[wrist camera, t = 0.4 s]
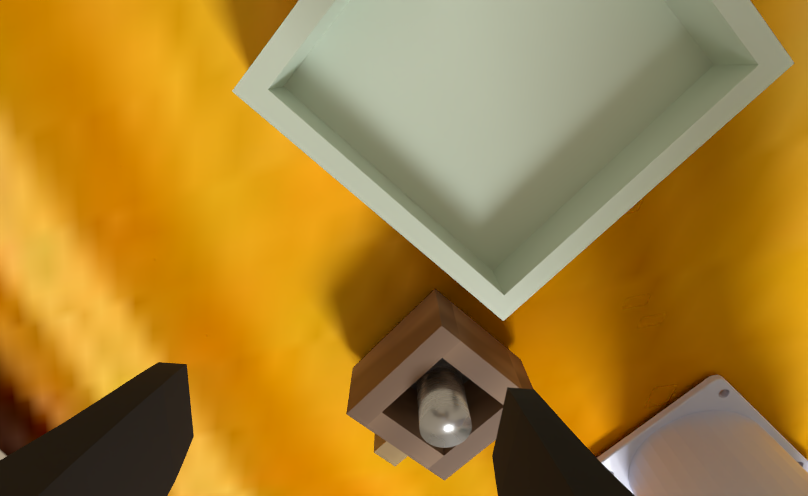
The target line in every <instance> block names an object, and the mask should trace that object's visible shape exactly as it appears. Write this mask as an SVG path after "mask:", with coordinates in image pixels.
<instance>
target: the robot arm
mask: <svg viewBox="0 0 808 496" xmlns="http://www.w3.org/2000/svg"><path fill="white" fill-rule="evenodd" d="M721 390H722V391H721ZM720 391H721V392H720ZM192 439H193V425H192V415H191V405H190V394H189V384H188V373H187V364H175V363H161V362H159V363H157V364H155V365H153V366H152V367H150V368H148V369H147V370H145V371H144V372H142V373H140V374H139V375H137V376H136V377H134V378H133V379H131V380H130V381H128V382H126V383H125V384H123V385H122V386H120V387H119V388H117V389H116V390H114V391H113V392H111V393H110V394H108V395H106V396H105V397H103V398H102V399H100V400H99V401H97V402H96V403H94V404H92V405H91V406H89V407H88V408H86V409H85V410H83V411H81V412H80V413H78V414H77V415H75V416H74V417H72V418H71V419H69V420H67V421H66V422H64V423H63V424H61V425H59V426H58V427H56V428H54V429H53V430H51V431H49V432H47V433H46V434H44V435H42V436H41V437H39V438H37V439H36V440H34V441H32V442H31V443H29V444H27V445H26V446H24V447H22V448H20V449H19V450H17V451H15V452H14V453H12V454H10V455H9V456H7V457H5V458H4V459H2V460H0V496H167V495H168V493H169V491H170V490H171V488H172V486H173V484H174V482H175V480H176V478H177V475H178V473H179V471H180V468H181V466H182V464H183V461H184V459H185V456H186V454H187V451H188V449H189V446H190V444H191V441H192ZM492 457H493V464H494V471H495V479H496V485H497V492H498V496H808V460H807V459H806V458H805V457H804V456H803V455H801V454H800V453H799V452H798V451H797V450H796V449H795V448H794V447H793V446H792V445H791V444H790V443H789V442H788V441H787V440H786V439H785V438H784V437H783V436H782V435H781V434H780V433H779V432H778V431H777V430H776V429H775V428H774V427H773V426H772V425H771V424H770V423H769V422H768V421H767V420H766V419H765V418H764V417H763V416H762V415H761V414H760V413H759V412H758V411H757V410H756V409H755V408H754V407H753V406H752V405H751V404H750V403H749V402H748V401H747V400H746V399H745V398H744V397H743V396H742V395H741V394H739V393H738V392H737V391H736V390H735V389H734V388H733V387H732V386H731V385H730V384H729V383H728V382H727V381H726V380H725V379H724V378H723V377H722V376H720V375H712V376H710V377H708V378H706V379H705V380H704V381H702V382H701V383H700V384H698V385H697V386H695V387H694V388H693V389H691V390H690V391H688V392H687V393H686V394H684V395H683V396H682V397H680V398H679V399H677V400H676V401H675V402H673V403H672V404H670V405H669V406H668V407H666V408H665V409H664V410H662V411H661V412H659V413H658V414H657V415H655V416H654V417H652V418H651V419H650V420H648V421H647V422H646V423H644V424H643V425H641V426H640V427H639V428H637V429H636V430H635V431H633V432H632V433H630V434H629V435H628V436H626V437H625V438H623V439H622V440H621V441H619V442H618V443H617V444H615V445H614V446H612V447H611V448H610V449H608V450H607V451H605V452H604V453H603V454H601V455H600V456H599V457H597V458H596V457H595V456H594V455H593V454H592V453H591V451H590V450H589V449H588V448H587V447H586V446H585V445H584V444H583V443H582V442H581V441H580V440H579V439H578V438H577V436H576V435H575V434H574V433H573V432H572V431H571V430H570V429H569V428H568V427H567V426H566V424H565V423H564V422H563V421H562V420H561V419H560V418H559V417H558V416H557V414H556V413H555V412H554V411H553V410H552V409H551V408H550V407H549V405H548V404H547V403H546V402H545V401H544V400H543V399H542V398H541V397H540V395H539V394H538V393H537V392H536V391H535V390H534V389H523V388H509V387H507V391H506V396H505V400H504V405H503V409H502V414H501V419H500V423H499V428H498V432H497V437H496V442H495V446H494V451H493V455H492Z"/></svg>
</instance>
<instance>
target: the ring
mask: <svg viewBox="0 0 808 496" xmlns="http://www.w3.org/2000/svg"><path fill="white" fill-rule="evenodd" d="M441 358H443V359H444V360H446V361H447V362H448V363H450V364H451V365H452V366H453V367H455V368H456V369H457V370H459V371H460V372H461V373H463V374H464V375H465V376H466V377H468V378H469V380H468V381H467V382H465V383H464V384H463V385H464V390H465V395H466V399H467V404H468V409H469V413H470V418H471V423H472V430H471V433H470V435H469V436H468V438H467V439H466V440H465V441H463V442H462V443H460V444H459V445H456V446H453V447H447V448H441V447H436V446H433V445H431V444H429V443H427V442H426V441H425V440H424V439H423V438H422V436H421V434H420V429H419V414H418V399H417V391H416V390H415V389H413V388H412V387H411V385H413V384H414V383H415V382H416V381H417V380H418V379H419V378H420V377H421V376H423V375H424V374H425V373H426V372H427V371H428V370H429V369H430V368H431V367H433V366H434V365H435V364H436V363H437V362H438V361H439V360H440V359H441ZM507 387H509V388H523V389H533V387H532V385H531V383H530V380H529V378H528V376H527V373H526V371H525V369H524V366H523V364H522V361H521V359H519V358H518V357H517V356H516V355H515V354H513V353H512V352H511V351H510V350H508V349H507V348H506V347H505V346H504V345H502V344H501V343H500V342H499V341H498V340H496V339H495V338H494V337H493V336H492V335H490V334H489V333H488V332H487V331H486V330H484V329H483V328H482V327H481V326H479V325H478V324H477V323H476V322H475V321H473V320H472V319H471V318H470V317H469V316H467V315H466V314H465V313H464V312H463V311H461V310H460V309H459V308H458V307H456V306H455V305H454V304H453V303H452V302H450V301H449V300H448V299H447V298H446V297H444V296H443V295H442V294H441V293H440V292H438V291H437V290H436V289H434V290H433V291H432V292H431V293H430V294H429V295H428V296H427V297H426V298H425V299H424V300H423V301H422V302H421V303H420V304H419V305H418V306H417V307H416V308H415V309H414V310H413V311H411V312H410V313H409V314H408V315H407V316H406V317H405V318H404V319H403V320H402V321H401V322H400V323H399V324H398V325H397V326H396V327H395V328H394V329H393V330H392V331H391V332H390V333H389V334H388V335H387V336H386V337H384V338H383V339H382V340H381V341H380V342H379V343H378V344H377V345H376V346H375V347H374V348H373V349H372V350H371V351H370V352H369V353H368V354H367V355H366V356H365V357H364V358H363V359H362V360H361V361H360V362H359V363H357V364H356V365H355V366H354V367H353V371H352V378H351V385H350V392H349V400H348V407H347V415H349V416H350V417H352V418H353V419H355V420H356V421H357V422H359V423H360V424H362V425H363V426H365V427H366V428H368V429H369V430H371V431H372V432H374V433H375V441H374V453H376V454H377V455H379V456H380V457H382V458H383V459H385V460H386V461H388V462H389V463H391V464H392V465H394V466H396V465H397V464H399V463H400V462H401V461H402V460H403V459H405V458H406V457H407V456H409V457H411V458H412V459H414V460H415V461H416V462H418V463H419V464H421V465H422V466H424V467H425V468H427V469H428V470H430V471H431V472H433V473H434V474H436V475H437V476H439V477H440V478H442V479H443V480H446V479H447V478H448V477H449V476H451V475H452V474H453V473H454V472H456V471H457V470H458V469H459V468H461V467H462V466H463V465H464V464H466V463H467V462H468V461H469V460H471V459H472V458H473V457H474V456H476V455H477V454H478V453H479V452H481V451H482V450H483V449H484V448H486V447H487V446H488V445H490V444H491V443H492V442H493V441H495V440H496V437H497V432H498V428H499V423H500V419H501V414H502V409H503V405H504V400H505V396H506V391H507Z"/></svg>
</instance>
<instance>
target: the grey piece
mask: <svg viewBox="0 0 808 496" xmlns="http://www.w3.org/2000/svg"><path fill="white" fill-rule="evenodd" d="M468 380H469V378H468V377H466V376H465V375H464V374H463V373H461V372H460V371H459V370H457V369H456V368H455V367H453V366H452V365H451V364H450V363H448V362H447V361H446V360H444V359H443V358H441V359H440V360H439V361H438V362H437V363H436V364H435V365H434V366H433V367H431V368H430V369H429V370H428V371H427V372H426V373H425V374H424V375H423V376H421V377H420V378H419V379H418V380H417V381H416V382H415V383H414V384H413V385H411V387H412V388H413V389H415V390H416V391H417V399H418V414H419V429H420V434H421V436H422V438H423V439H424V440H425V441H426V442H427V443H429V444H431V445H433V446H436V447H441V448H447V447H453V446H456V445H459V444H460V443H462V442H463V441H465V440H466V439H467V438H468V436H469V435H470V433H471V430H472V423H471V418H470V413H469V409H468V404H467V399H466V395H465V390H464V385H463V384H464V383H465V382H467V381H468Z"/></svg>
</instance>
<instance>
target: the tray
mask: <svg viewBox="0 0 808 496" xmlns="http://www.w3.org/2000/svg"><path fill="white" fill-rule="evenodd" d="M793 64H794V62H793V60H792V59H791V58H790V56H789V55H788V53H787V52H786V50H785V49H784V48H783V46H782V45H781V43H780V42H779V40H778V39H777V38H776V36H775V35H774V33H773V32H772V31H771V29H770V28H769V26H768V25H767V23H766V22H765V21H764V19H763V18H762V16H761V15H760V14H759V12H758V11H757V9H756V8H755V6H754V5H753V4H752V2H751V1H750V0H299V1H298V2H297V4H296V5H295V6H294V8H293V9H292V10H291V12H290V13H289V15H288V16H287V17H286V19H285V20H284V21H283V23H282V24H281V25H280V27H279V28H278V30H277V31H276V32H275V34H274V35H273V36H272V38H271V39H270V40H269V42H268V43H267V44H266V46H265V47H264V49H263V50H262V51H261V53H260V54H259V55H258V57H257V58H256V59H255V61H254V62H253V64H252V65H251V66H250V68H249V69H248V70H247V72H246V73H245V74H244V76H243V77H242V79H241V80H240V81H239V83H238V84H237V85H236V87H235V88H234V89H233V91H232V92H234V93H235V94H236V95H237V96H238V97H240V98H241V99H242V100H243V101H244V102H245V103H247V104H248V105H249V106H250V107H251V108H252V109H254V110H255V111H256V112H257V113H258V114H260V115H261V116H262V117H263V118H264V119H265V120H267V121H268V122H269V123H270V124H271V125H273V126H274V127H275V128H276V129H277V130H278V131H280V132H281V133H282V134H283V135H284V136H286V137H287V138H288V139H289V140H290V141H291V142H293V143H294V144H295V145H296V146H297V147H298V148H300V149H301V150H302V151H303V152H304V153H306V154H307V155H308V156H309V157H310V158H311V159H313V160H314V161H315V162H316V163H317V164H319V165H320V166H321V167H322V168H323V169H324V170H326V171H327V172H328V173H329V174H330V175H332V176H333V177H334V178H335V179H336V180H337V181H339V182H340V183H341V184H342V185H343V186H345V187H346V188H347V189H348V190H349V191H350V192H352V193H353V194H354V195H355V196H356V197H357V198H359V199H360V200H361V201H362V202H363V203H365V204H366V205H367V206H368V207H369V208H370V209H372V210H373V211H374V212H375V213H376V214H378V215H379V216H380V217H381V218H382V219H383V220H385V221H386V222H387V223H388V224H389V225H391V226H392V227H393V228H394V229H395V230H396V231H398V232H399V233H400V234H401V235H402V236H403V237H405V238H406V239H407V240H408V241H409V242H411V243H412V244H413V245H414V246H415V247H416V248H418V249H419V250H420V251H421V252H422V253H424V254H425V255H426V256H427V257H428V258H429V259H431V260H432V261H433V262H434V263H435V264H437V265H438V266H439V267H440V268H441V269H442V270H444V271H445V272H446V273H447V274H448V275H450V276H451V277H452V278H453V279H454V280H455V281H457V282H458V283H459V284H460V285H461V286H462V287H464V288H465V289H466V290H467V291H468V292H470V293H471V294H472V295H473V296H474V297H475V298H477V299H478V300H479V301H480V302H481V303H483V304H484V305H485V306H486V307H487V308H488V309H490V310H491V311H492V312H493V313H494V314H496V315H497V316H498V317H499V318H500V319H501V320H503V321H504V320H505V319H506V318H507V317H509V316H510V315H511V314H512V313H513V312H514V311H515V310H516V309H518V308H519V307H520V306H521V305H522V304H523V303H524V302H525V301H527V300H528V299H529V298H530V297H531V296H532V295H533V294H534V293H536V292H537V291H538V290H539V289H540V288H541V287H542V286H544V285H545V284H546V283H547V282H548V281H549V280H550V279H551V278H553V277H554V276H555V275H556V274H557V273H558V272H559V271H560V270H562V269H563V268H564V267H565V266H566V265H567V264H568V263H569V262H571V261H572V260H573V259H574V258H575V257H576V256H577V255H579V254H580V253H581V252H582V251H583V250H584V249H585V248H586V247H588V246H589V245H590V244H591V243H592V242H593V241H594V240H595V239H597V238H598V237H599V236H600V235H601V234H602V233H603V232H605V231H606V230H607V229H608V228H609V227H610V226H611V225H612V224H614V223H615V222H616V221H617V220H618V219H619V218H620V217H621V216H623V215H624V214H625V213H626V212H627V211H628V210H629V209H630V208H632V207H633V206H634V205H635V204H636V203H637V202H638V201H640V200H641V199H642V198H643V197H644V196H645V195H646V194H647V193H649V192H650V191H651V190H652V189H653V188H654V187H655V186H656V185H658V184H659V183H660V182H661V181H662V180H663V179H664V178H665V177H667V176H668V175H669V174H670V173H671V172H672V171H673V170H675V169H676V168H677V167H678V166H679V165H680V164H681V163H682V162H684V161H685V160H686V159H687V158H688V157H689V156H690V155H691V154H693V153H694V152H695V151H696V150H697V149H698V148H699V147H700V146H702V145H703V144H704V143H705V142H706V141H707V140H708V139H710V138H711V137H712V136H713V135H714V134H715V133H716V132H717V131H719V130H720V129H721V128H722V127H723V126H724V125H725V124H726V123H728V122H729V121H730V120H731V119H732V118H733V117H734V116H735V115H737V114H738V113H739V112H740V111H741V110H742V109H743V108H745V107H746V106H747V105H748V104H749V103H750V102H751V101H752V100H754V99H755V98H756V97H757V96H758V95H759V94H760V93H761V92H763V91H764V90H765V89H766V88H767V87H768V86H769V85H770V84H772V83H773V82H774V81H775V80H776V79H777V78H778V77H780V76H781V75H782V74H783V73H784V72H785V71H786V70H787V69H789V68H790V67H791V66H792V65H793Z"/></svg>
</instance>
